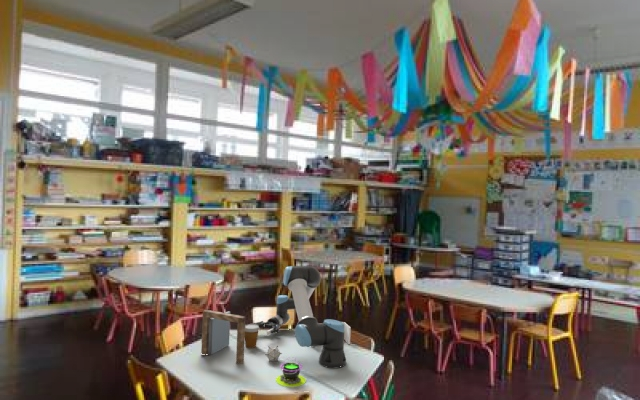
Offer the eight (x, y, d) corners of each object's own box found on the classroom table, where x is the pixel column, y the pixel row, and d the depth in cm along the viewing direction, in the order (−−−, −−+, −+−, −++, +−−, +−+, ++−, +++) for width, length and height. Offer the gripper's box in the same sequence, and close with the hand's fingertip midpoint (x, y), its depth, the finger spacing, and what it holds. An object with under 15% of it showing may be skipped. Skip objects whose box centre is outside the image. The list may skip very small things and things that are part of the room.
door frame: (243, 362, 250) (245, 316, 249) (240, 363, 247) (242, 318, 246) (204, 353, 260) (206, 309, 259) (201, 354, 257) (202, 310, 256)
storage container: (343, 339, 295) (344, 322, 294) (349, 345, 284) (350, 327, 284) (306, 341, 288) (307, 324, 287) (311, 347, 277) (312, 329, 277)
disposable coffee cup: (258, 343, 280) (259, 323, 279) (258, 349, 270) (259, 328, 270) (242, 343, 278) (243, 323, 278) (242, 349, 269) (243, 328, 268)
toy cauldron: (269, 378, 230) (270, 357, 230) (293, 371, 240) (294, 351, 240) (287, 390, 219) (288, 367, 219) (311, 382, 229) (312, 360, 228)
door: (209, 355, 256) (211, 319, 255) (204, 354, 257) (205, 318, 256) (229, 344, 273) (230, 311, 272) (224, 343, 274) (225, 310, 273)
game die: (274, 368, 252) (278, 358, 245) (261, 361, 253) (264, 351, 247) (282, 356, 259) (285, 346, 252) (268, 349, 260) (271, 339, 254)
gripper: (291, 331, 296) (275, 341, 277) (258, 325, 306) (240, 334, 287) (291, 319, 296) (276, 329, 276) (258, 314, 306) (240, 322, 286)
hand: (257, 331), depth 281 cm, fingers open, 13 cm apart
